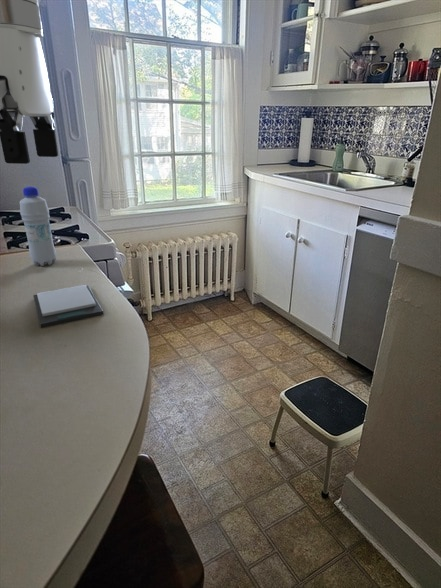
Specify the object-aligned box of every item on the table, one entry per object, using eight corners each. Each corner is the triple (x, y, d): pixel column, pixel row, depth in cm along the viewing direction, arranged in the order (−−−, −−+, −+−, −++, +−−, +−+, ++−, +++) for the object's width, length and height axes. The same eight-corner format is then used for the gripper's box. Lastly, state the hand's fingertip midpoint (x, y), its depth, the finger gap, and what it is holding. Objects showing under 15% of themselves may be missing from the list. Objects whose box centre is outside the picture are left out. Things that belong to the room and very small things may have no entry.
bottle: (25, 264, 104) (9, 187, 95) (48, 257, 109) (34, 183, 100) (40, 269, 100) (24, 189, 92) (63, 262, 105) (50, 186, 97)
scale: (35, 305, 81) (32, 292, 80) (89, 295, 86) (87, 282, 85) (42, 335, 70) (39, 321, 69) (104, 322, 75) (102, 308, 73)
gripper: (14, 33, 59) (35, 154, 66) (-64, 3, 43) (-26, 166, 50) (64, 34, 59) (79, 154, 66) (4, 4, 43) (32, 167, 50)
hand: (34, 159), depth 58 cm, fingers open, 9 cm apart
